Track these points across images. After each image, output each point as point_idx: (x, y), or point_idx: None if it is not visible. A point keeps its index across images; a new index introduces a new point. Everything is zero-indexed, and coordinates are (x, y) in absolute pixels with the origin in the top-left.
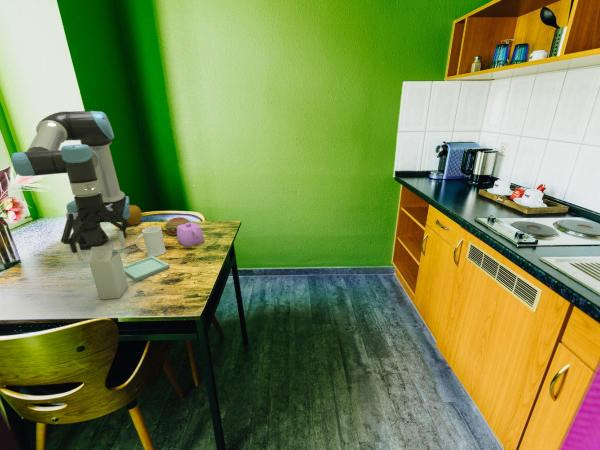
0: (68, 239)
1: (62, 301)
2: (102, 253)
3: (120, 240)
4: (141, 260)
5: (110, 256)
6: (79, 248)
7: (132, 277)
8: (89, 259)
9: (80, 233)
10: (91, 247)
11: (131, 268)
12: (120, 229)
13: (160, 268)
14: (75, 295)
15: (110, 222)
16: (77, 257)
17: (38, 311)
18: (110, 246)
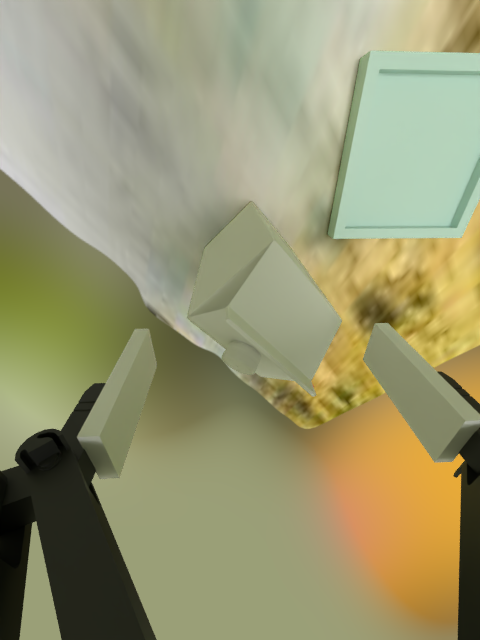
0: (25, 547)
1: (103, 144)
2: (251, 373)
3: (395, 365)
4: (476, 66)
5: (272, 376)
6: (130, 435)
7: (336, 207)
8: (193, 316)
9: (128, 578)
10: (226, 321)
11: (395, 98)
12: (472, 446)
13: (425, 237)
14: (148, 136)
15: (459, 608)
16: (129, 341)
17: (26, 149)
18: (306, 390)
